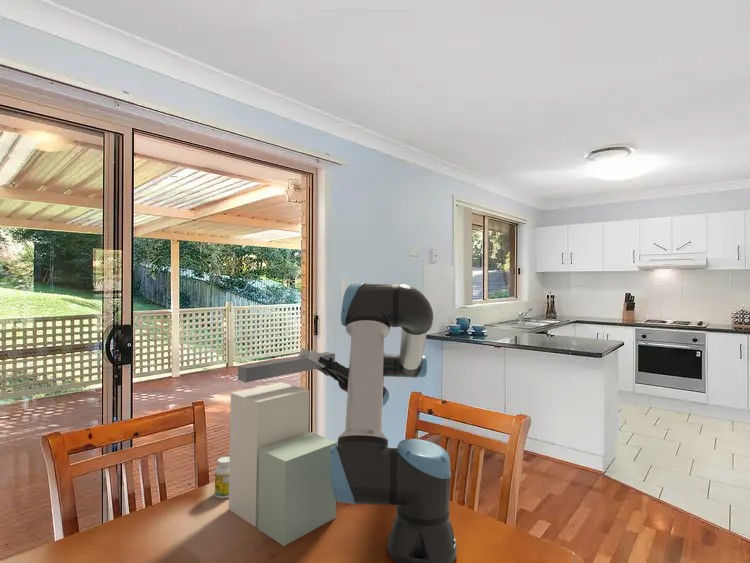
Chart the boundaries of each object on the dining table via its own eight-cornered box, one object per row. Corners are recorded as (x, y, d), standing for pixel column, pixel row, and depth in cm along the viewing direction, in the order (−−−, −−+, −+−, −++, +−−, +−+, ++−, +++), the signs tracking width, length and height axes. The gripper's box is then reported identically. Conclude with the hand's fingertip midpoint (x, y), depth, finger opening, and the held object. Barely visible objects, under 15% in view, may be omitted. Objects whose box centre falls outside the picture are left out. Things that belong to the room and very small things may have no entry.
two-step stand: (279, 487, 126) (281, 382, 125) (335, 517, 111) (338, 398, 110) (228, 508, 114) (230, 392, 113) (283, 546, 99) (286, 412, 98)
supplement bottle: (237, 496, 120) (237, 461, 120) (216, 501, 118) (217, 465, 118) (232, 487, 125) (233, 454, 125) (212, 492, 122) (213, 457, 122)
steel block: (326, 363, 133) (326, 352, 133) (334, 365, 130) (334, 353, 130) (237, 380, 110) (238, 366, 110) (245, 382, 108) (246, 368, 108)
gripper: (370, 399, 133) (320, 370, 117) (331, 389, 144) (281, 361, 128) (378, 375, 136) (331, 344, 120) (340, 367, 147) (292, 337, 131)
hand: (305, 353), depth 124 cm, fingers closed on steel block, 3 cm apart
